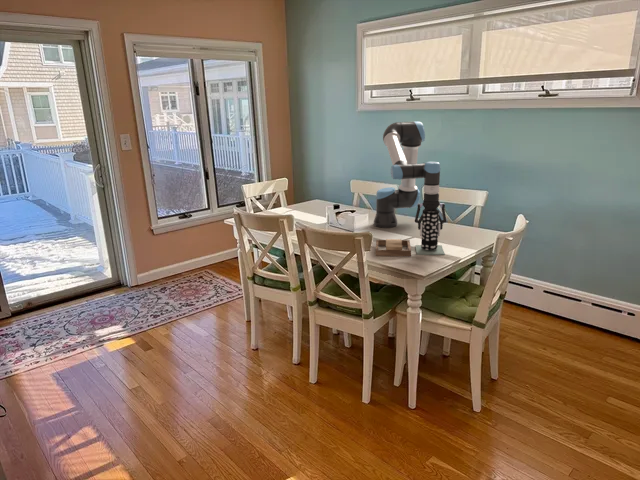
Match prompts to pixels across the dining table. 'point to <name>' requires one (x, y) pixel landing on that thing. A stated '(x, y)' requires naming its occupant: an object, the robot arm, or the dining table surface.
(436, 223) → the spotted tube
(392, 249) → the offcut
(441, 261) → the dining table surface
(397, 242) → the offcut
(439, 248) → the mat
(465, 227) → the dining table surface
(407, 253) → the rack
